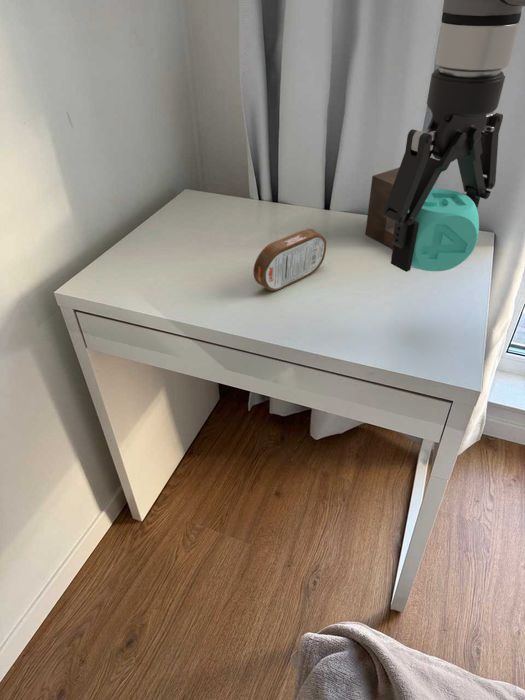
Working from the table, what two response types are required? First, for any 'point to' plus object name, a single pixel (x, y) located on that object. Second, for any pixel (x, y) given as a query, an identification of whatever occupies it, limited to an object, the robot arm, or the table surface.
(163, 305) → the table surface
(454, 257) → the decorative dice
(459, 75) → the robot arm
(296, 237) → the tin
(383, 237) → the shelf stand
